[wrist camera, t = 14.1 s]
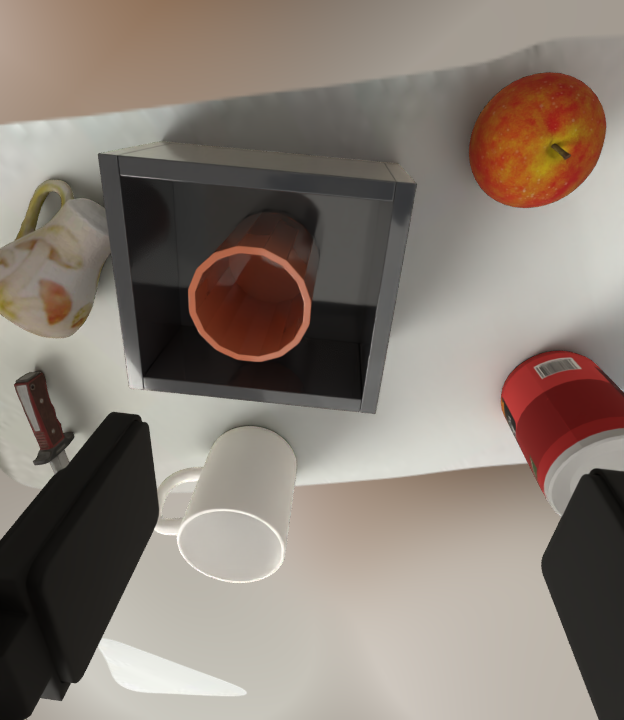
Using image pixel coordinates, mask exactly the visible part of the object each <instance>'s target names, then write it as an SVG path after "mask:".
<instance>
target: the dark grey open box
mask: <svg viewBox="0 0 624 720" xmlns="http://www.w3.org/2000/svg"><path fill="white" fill-rule="evenodd" d="M98 159H99V167H100V174H101V182H102V189H103V197H104V204H105V211H106V219H107V226H108V234H109V241H110V249H111V256H112V264H113V271H114V279H115V286H116V294H117V301H118V308H119V316H120V323H121V331H122V338H123V346H124V353H125V361H126V368H127V376H128V383H129V388H131V389H140V390H144V389H145V390H151V391H160V392H170V393H180V394H189V395H199V396H209V397H218V398H228V399H238V400H247V401H257V402H266V403H276V404H286V405H295V406H305V407H315V408H324V409H334V410H344V411H353V412H362V413H372V414H375V413H376V409H377V403H378V397H379V392H380V386H381V381H382V375H383V370H384V364H385V359H386V353H387V348H388V342H389V336H390V331H391V325H392V320H393V314H394V309H395V303H396V298H397V292H398V287H399V281H400V275H401V270H402V264H403V259H404V253H405V248H406V242H407V237H408V231H409V226H410V220H411V214H412V209H413V203H414V198H415V192H416V187H417V183H416V182H415V181H414V180H413V179H412V178H411V177H410V175H409V174H408V173H407V172H406V171H405V170H404V169H403V168H402V166H401V165H400V164H398V163H390V162H380V161H369V160H358V159H348V158H337V157H326V156H316V155H305V154H294V153H284V152H273V151H262V150H252V149H241V148H230V147H220V146H209V145H198V144H188V143H177V142H166V141H159V142H153V143H148V144H143V145H138V146H133V147H128V148H123V149H118V150H113V151H108V152H103V153H98ZM260 212H279V213H283V214H286V215H288V216H291V217H293V218H294V219H296V220H298V221H299V222H300V223H301V224H303V225H304V226H305V227H306V228H307V230H308V231H309V232H310V234H311V235H312V237H313V239H314V240H315V243H316V245H317V249H318V253H319V268H318V277H317V283H316V289H315V295H314V301H313V307H312V313H311V319H310V324H309V327H308V329H307V330H306V332H305V334H304V336H303V337H302V339H301V341H300V343H299V344H298V345H296V346H295V347H294V348H292V349H291V350H290V351H288V352H287V353H286V354H284V355H283V356H281V357H278V358H274V359H270V360H266V361H262V362H254V361H244V360H237V359H234V358H232V357H230V356H228V355H226V354H224V353H222V352H219V351H217V350H216V349H215V348H214V347H213V346H211V345H210V344H209V343H208V342H207V341H206V340H205V339H204V338H203V337H202V336H201V335H200V333H199V332H198V330H197V328H196V326H195V324H194V322H193V320H192V317H191V315H190V312H189V300H188V288H189V286H190V283H191V281H192V278H193V276H194V273H195V271H196V269H197V267H198V266H199V265H200V264H201V263H202V262H203V261H204V260H205V259H206V258H207V257H208V255H209V254H210V253H211V252H212V251H213V250H214V249H215V248H216V247H217V246H218V244H219V243H220V242H221V241H222V240H223V239H224V238H225V237H226V236H227V235H228V234H229V232H230V231H231V230H232V229H233V228H235V227H236V226H237V225H238V224H239V223H240V222H241V221H242V220H243V219H245V218H247V217H249V216H251V215H253V214H256V213H260Z"/></svg>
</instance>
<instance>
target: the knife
mask: <svg viewBox="0 0 624 720" xmlns="http://www.w3.org/2000/svg"><path fill="white" fill-rule="evenodd" d="M14 386H15V389H16V392H17V395H18V397H19V400H20V402H21V404H22V407H23V409H24V412H25V414H26V416H27V419H28V421H29V423H30V426H31V428H32V430H33V433H34V435H35V437H36V439H37V442H38V444H39V446H40V451H39V453H38V456H37V458H36V459H35V460H34V461H33V462H34V465H42V464H46V463H48V462H50V464H51V467H52V469H53V472H54V474H56V473H57V472H58V471H59V470H61V469H63V468H66V466H67V465H68V464H69V460H68V458H67V455H66V453H65V450H64V449H65V448H66V447H67V446H68V445H69V444H70V443H71V441H72V440H73V439H74V434H73V432H67V433H63V432H62V428H61V423H60V422H59V421H58V419H57V417H56V413H55V409H54V407H53V405H52V403H51V401H50V398H49V395H48V391H47V385H46V380H45V377H44V375H43V373H40V372H31V373H27V374H25V375H24V376H22V377H21V378H19V379H18V380H16V383H15V384H14Z"/></svg>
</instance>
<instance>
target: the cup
mask: <svg viewBox="0 0 624 720" xmlns="http://www.w3.org/2000/svg"><path fill="white" fill-rule="evenodd" d="M296 470H297V464H296V458H295V455H294V452H293V450H292V448H291V447H290V445H289V444H288V443H287V442H286V441H285V440H284V439H283V438H282V437H281V436H279V435H278V434H276V433H275V432H273V431H271V430H268V429H265V428H262V427H256V426H243V427H238V428H234V429H232V430H229V431H227V432H226V433H224V434H223V435H221V436H220V437H219V438H218V439H217V440H216V442H215V443H214V444H213V446H212V448H211V450H210V452H209V455H208V457H207V459H206V462H205V465H204V467H193V468H187V469H183V470H180V471H177V472H175V473H173V474H172V475H170V476H169V477H168V478H166V479H165V480H164V481H163V482H162V483H161V485H160V486H159V487H158V489H157V494H158V502H159V517H158V521H157V524H156V526H155V528H154V530H155V531H156V532H158V533H161V534H165V535H177V543H178V548H179V550H180V552H181V554H182V556H183V557H184V559H185V560H186V561H187V562H188V563H189V564H190V565H191V566H192V567H193V568H195V569H196V570H198V571H199V572H201V573H203V574H205V575H207V576H209V577H211V578H214V579H218V580H221V581H226V582H234V583H244V582H245V583H246V582H253V581H257V580H261V579H264V578H266V577H268V576H270V575H271V574H273V573H274V572H275V571H276V570H277V569H278V568H279V567H280V566H281V564H282V563H283V560H284V558H285V552H286V545H287V537H288V530H289V523H290V516H291V508H292V501H293V494H294V487H295V479H296ZM189 481H198V482H197V485H196V487H195V490H194V492H193V495H192V497H191V500H190V503H189V505H188V508H187V510H186V513H185V515H184V518H173V519H166V518H163V517H162V509H163V505H164V502H165V500H166V497H167V496H168V494H169V493H170V491H171V490H172V489H173V488H174V487H176V486H177V485H179V484H181V483H184V482H189Z"/></svg>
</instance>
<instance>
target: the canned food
mask: <svg viewBox="0 0 624 720" xmlns="http://www.w3.org/2000/svg"><path fill="white" fill-rule="evenodd" d="M501 406H502V411H503V414H504V416H505V418H506V420H507V422H508V424H509V426H510V428H511V430H512V432H513V434H514V436H515V438H516V440H517V442H518V444H519V446H520V448H521V450H522V452H523V454H524V456H525V458H526V460H527V462H528V464H529V466H530V468H531V470H532V472H533V474H534V476H535V478H536V480H537V482H538V484H539V486H540V488H541V490H542V492H543V493H544V495H545V497H546V499H547V501H548V502H549V504H550V505H551V507H552V508H553V509H554V511H555V512H556V513H557V514H558V515H559V516H560V517H562V515H563V513H564V511H565V509H566V507H567V505H568V503H569V501H570V499H571V497H572V495H573V492H574V490H575V488H576V486H577V484H578V482H579V480H580V478H581V477H582V475H584V474H589V473H590V471H591V470H593V469H594V468H600V469H609V470H618V471H624V392H623V391H622V390H621V389H620V388H619V387H618V386H617V385H616V384H615V383H614V382H613V381H612V380H611V379H610V378H609V377H608V376H607V375H606V374H605V373H604V372H603V371H602V370H601V369H600V368H599V367H598V366H597V365H596V364H595V363H594V362H593V361H592V360H590V359H588V358H587V357H585V356H582V355H580V354H577V353H573V352H570V351H550V352H545V353H541V354H539V355H536V356H533V357H531V358H529V359H528V360H526V361H524V362H523V363H521V364H520V365H519V366H518V367H516V368H515V369H514V370H513V371H512V373H511V374H510V375H509V376H508V378H507V379H506V381H505V383H504V386H503V388H502V394H501Z"/></svg>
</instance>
